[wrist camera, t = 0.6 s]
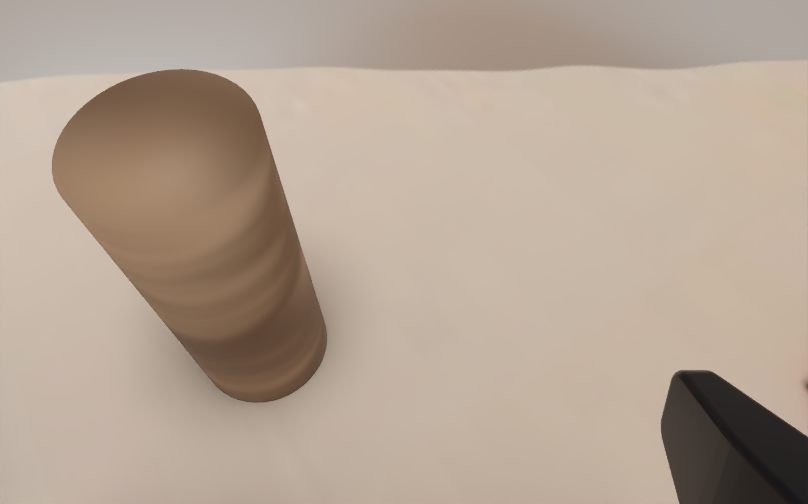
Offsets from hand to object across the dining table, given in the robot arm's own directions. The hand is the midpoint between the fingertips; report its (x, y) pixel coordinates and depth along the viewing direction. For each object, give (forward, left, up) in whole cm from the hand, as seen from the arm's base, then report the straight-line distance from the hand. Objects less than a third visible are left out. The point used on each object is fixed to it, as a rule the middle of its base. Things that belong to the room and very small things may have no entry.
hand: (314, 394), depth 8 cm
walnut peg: (+6, +7, -16) cm, 18 cm away
